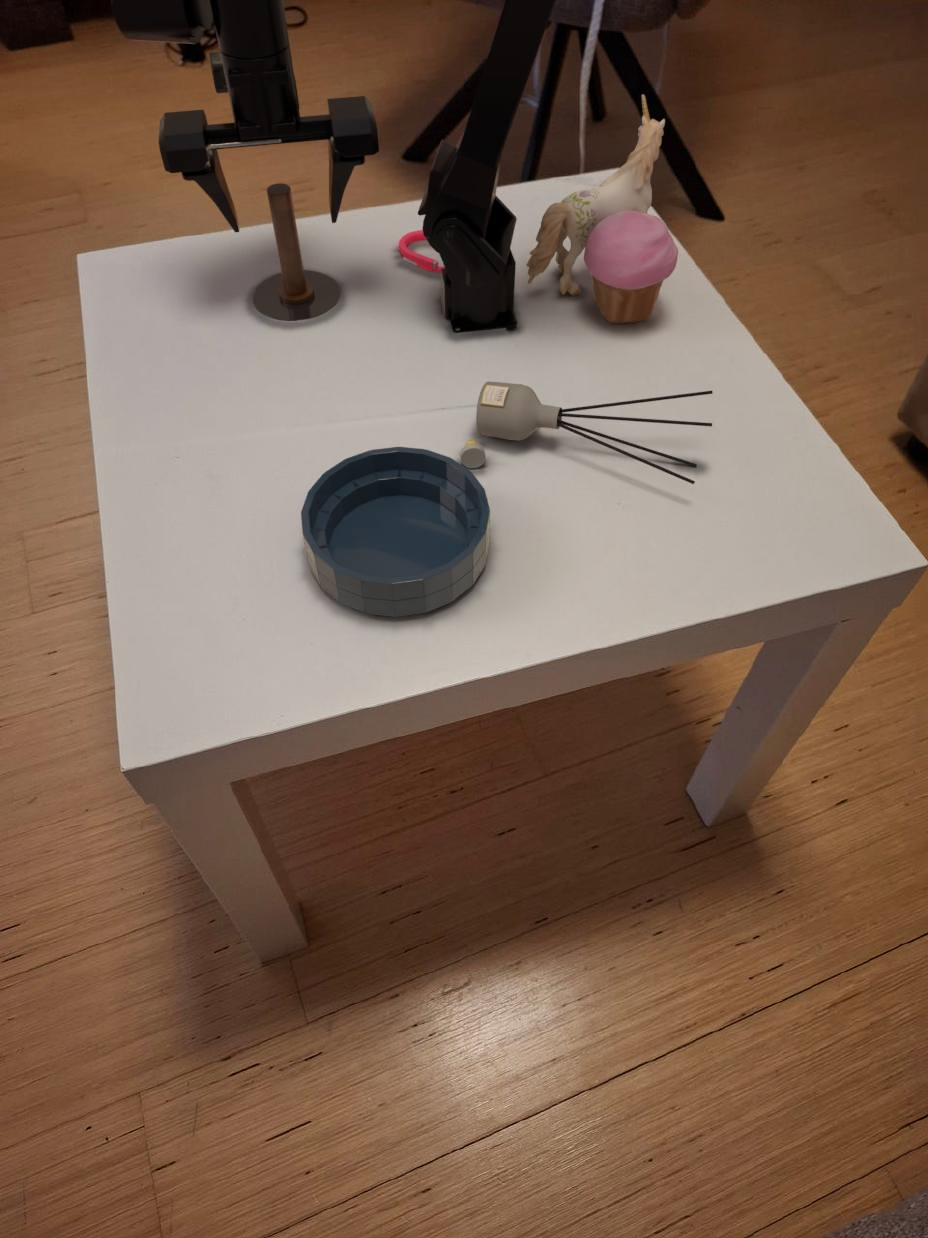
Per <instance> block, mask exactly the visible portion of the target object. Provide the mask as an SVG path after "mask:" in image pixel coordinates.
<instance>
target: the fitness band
mask: <svg viewBox="0 0 928 1238" xmlns="http://www.w3.org/2000/svg"><path fill="white" fill-rule="evenodd" d="M419 241H420V242H421V241H427V239H426V238H425V237H424V235H423V229H419V230H413V231H410V232H407V233H405V234H404V235H403V236H402V237H401V238H400V239H399V241H398V249H399V252H400V254H401V255H402V256H403V257H402V260H403V261H405V262H407V263H409V264H412V265H414V266H416V267H418V268H421V269H423V270H425V271H428V272H433V273H439V274H441V269H442V268H445V267H444V265H443V266H439V262H438V260H437V259H434V258H432V257H431V258H430V257H428V256H426V255H423V254H420V253H417V252H415V251H412V250H411V249H409V248H408V247H407V246H409V245H411V244H412V243H415V242H419Z"/></svg>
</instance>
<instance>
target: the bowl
mask: <svg viewBox="0 0 928 1238" xmlns="http://www.w3.org/2000/svg"><path fill="white" fill-rule="evenodd" d="M306 494H307V495H306V497H305V500H304V502H303V505H302V508H301V511H300V519H301V520H300V521H301V531H302V537H303V540H304V542H303V543H304V546H305V551H306V557H307V561H308V565H309V568H310V570H311V572H312V574H313V576H314V578H315V579H316V581H317V583H318V584H319V586H320V588H321V589H323V590H324V591H325V592H326V593H327V594H328V595H330V596H331V597H332V598H333V599H335V600H336V601H337V602H338V603H340V604H341V605H344V606H346V607H349V608H352V609H354V610H356V611H358V612H361V613H364V614H366V615H373V616H384V617H393V618H395V617H396V618H397V617H398V618H399V617H406V616H413V615H420V614H421V615H422V614H426V613H429V612H431V611H434V610H436V609H438V608H441V607H443V606H446V605H448V604H450V603H453V601H455V600H456V599H457V598H459V597H460V596H461V595H462V594H463V593H465V592H466V591H467V590H469V589H470V588H471V587H472V586H473V585H474V584H475V583H476V581H477V580H478V579H479V576H480V575H481V573H482V572H483V570H484V568H485V567H486V564H487V559H488V552H489V546H490V532H491V531H490V525H491V520H490V519H491V509H490V505H489V501H488V496H487V492H486V490H485V488H484V486H483V485H482V483H481V482H480V481H479V480H478V478H477V477H476V476H475V475H474V473H473V471H471V470H469V468H468V467H465V466H464V465H463V464H462V463H459V462H458V461H456V460H455V459H453V458H452V457H450V456H448V455H444V454H441V453H438V452H435V451H432V450H429V449H425V448H419V447H417V448H416V447H407V446H406V447H405V446H392V447H383V448H376V449H369V450H366V451H364V452H361V453H358V454H355V455H352V456H349V457H347V458H344V459H342V460H341V461H339V462H338V463H337V464H335V465H333V466H332V467H330V468H329V469H327V470H326V471H324V472H323V473H322V474H321V475H320V477H319V478H318V479H317V480H316V481H315V483H313V485H312V486H311V487H310V488H309V490H308V492H307V493H306Z"/></svg>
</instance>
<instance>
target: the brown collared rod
mask: <svg viewBox="0 0 928 1238" xmlns="http://www.w3.org/2000/svg"><path fill="white" fill-rule="evenodd" d="M291 188H292V187H290V185H289V184H286V183H281V182H280V183H279V182H278V183H273V184H270V185H269V186H268V187H267V189H266V195H267V200H268V206H269V210H270V217H271V222H272V227H273V233H274V239H275V243H276V250H277V255H278V260H279V267H280V271H281V272H280V273H282V277H283V284H282V285H280V287H279V288H278V294H279V298H280V300H281V301H283V302H284V303H287V304H293V305H296V304H302V303H305V302H307V301H309V300H311V299H312V297H313V296H314V288H313V285H312V284H311V283H310V282H308V281H306V280H305V276H304V270H305V268H304V263H303V258H302V252H301V251H302V250H301V245H300V239H299V233H298V226H297V220H296V213H295V209H294V208H295V207H294V201H293V196H292V195H293V194H292V189H291Z"/></svg>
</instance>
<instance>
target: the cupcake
mask: <svg viewBox="0 0 928 1238" xmlns="http://www.w3.org/2000/svg"><path fill="white" fill-rule="evenodd" d="M583 251H584V253H583V261H584V264H585V266H586V268H587V270H588V273H589V274H590V275H591V278H592V279H591V280H592V286H593V287H592V288H593V294H594V303H595V306H596V307H597V308H598V309H599V310H600V313H601V314H602V316H603V317H604V318H605V319H606V321H607V322H609V323H612V324H625V323H627V324H628V323H636V322H637V323H638V322H643V321H647V320H648V319H649V317H650V316H651V314H652V312H653V310H654V308H655V305H656V303H657V300H658V298H659V294H660V292H661V288H662V285H663V282H664V281H665V280H667V279H668V278H669V277H670V276H671V275H672V274H673V272H674V271H675V269H676V267H677V263H678V259H679V249H678V246H677V244H676V242H675V240H674V239H673V236H672V235H671V233H670V232H669V229H668V226H667V224H666V223H664V221H663V220H662V219H661V218H660V217H658V216H656V215H653V214H649V213H648V214H646V213H642V212H638V211H631V210H626V211H621V212H618V213H616V214H613V215H610V216H608V217H606V218H605V219H603V220H602V221H601V222H599V223H598V224H597V225H596V227H595V228H594V229H593V230H592V232H591V233H590V235H589V237H588V239H587V242H586V246H585V248H584V250H583Z"/></svg>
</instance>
